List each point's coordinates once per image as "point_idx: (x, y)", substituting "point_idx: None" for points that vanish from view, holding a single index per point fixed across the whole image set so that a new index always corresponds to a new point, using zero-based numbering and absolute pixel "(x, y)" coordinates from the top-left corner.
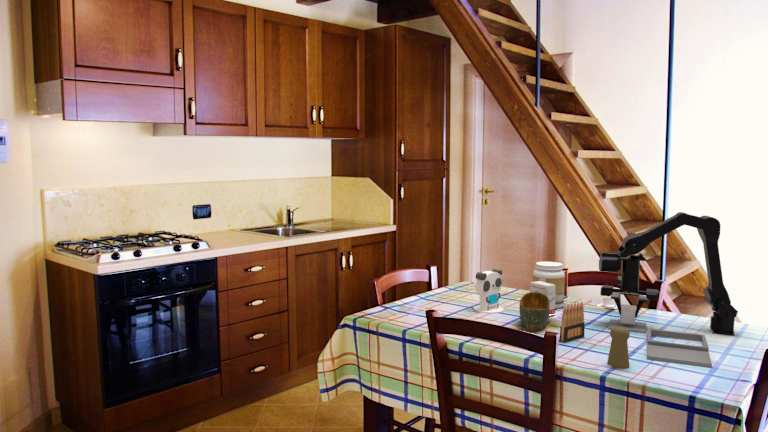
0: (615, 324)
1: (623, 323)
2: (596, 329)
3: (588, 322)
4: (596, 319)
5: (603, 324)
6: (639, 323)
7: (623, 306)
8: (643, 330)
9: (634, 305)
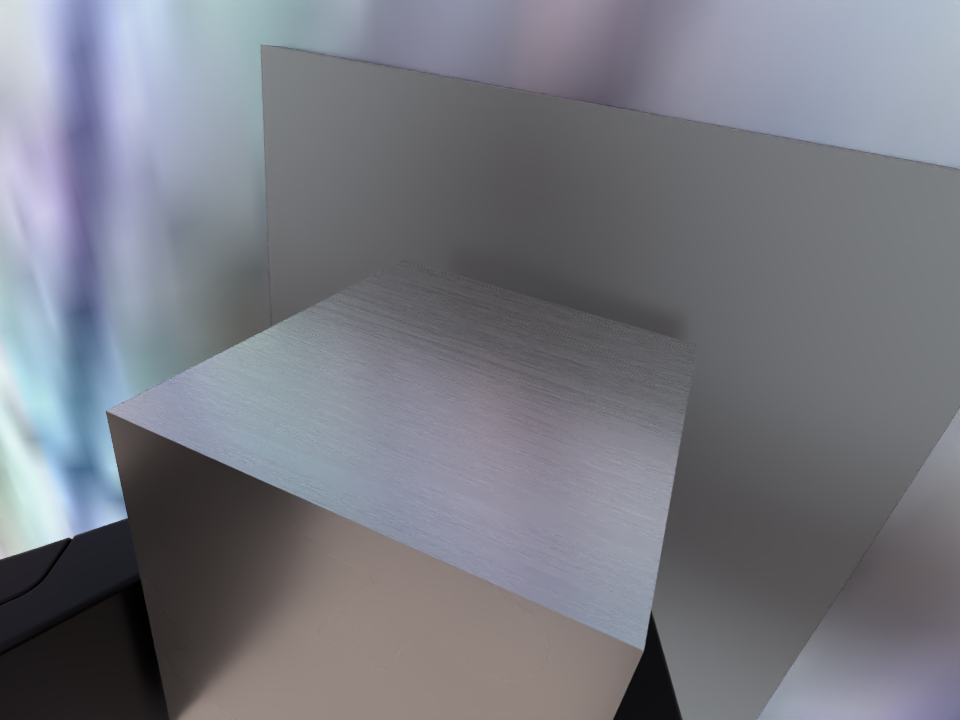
0: None
1: None
2: None
3: (73, 275)
4: (99, 60)
5: (225, 345)
6: (816, 307)
7: (193, 678)
8: (712, 705)
9: (567, 619)
